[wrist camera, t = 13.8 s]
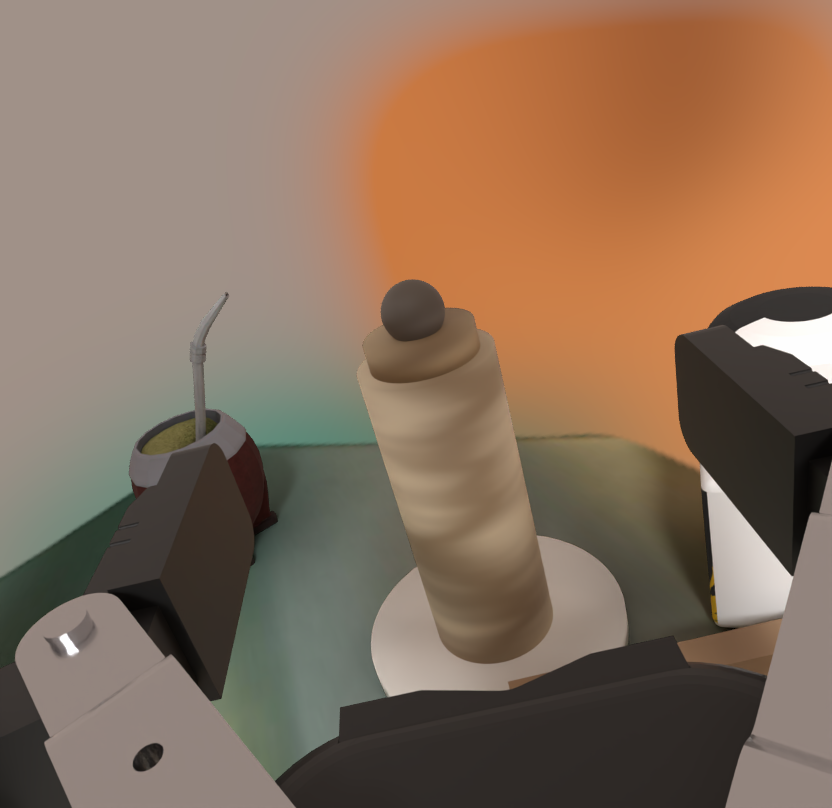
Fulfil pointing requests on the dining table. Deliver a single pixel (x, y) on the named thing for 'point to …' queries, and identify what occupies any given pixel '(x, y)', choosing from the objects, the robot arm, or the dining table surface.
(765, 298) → the medicine bottle
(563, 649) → the saucer
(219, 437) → the mate gourd
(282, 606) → the dining table surface
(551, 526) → the dining table surface
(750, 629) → the frame
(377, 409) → the pepper mill
